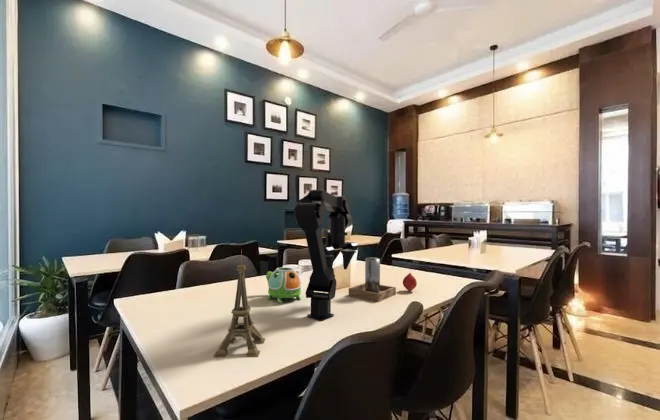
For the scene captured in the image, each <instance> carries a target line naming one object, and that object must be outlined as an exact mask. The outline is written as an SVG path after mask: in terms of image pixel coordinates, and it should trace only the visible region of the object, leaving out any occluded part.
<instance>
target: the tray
mask: <svg viewBox="0 0 660 420" xmlns="http://www.w3.org/2000/svg"><path fill="white" fill-rule="evenodd" d="M396 295H397V288H396V286H391V285H383V284H380V292H379V293H374V292H369V291H365V282H364V283H361V284H358V285H355V286H351V287H349V288H348V296H350V297H353V298H357V299H362V300H368V301H373V302H377V303H380V302H382V301H384V300H386V299H389V298H391V297H393V296H396Z"/></svg>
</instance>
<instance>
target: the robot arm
mask: <svg viewBox="0 0 660 420" xmlns="http://www.w3.org/2000/svg"><path fill="white" fill-rule="evenodd" d="M326 211H328V212H329V214H328V219H329V232H327V233H326V236H324V237H323V236H322V231H321V225H322V223H323V221H324V215H325V213H326ZM351 213H352V212H351V208H350V204H349V200H348V198H347V197H346V196H345V195H344V196H343V195H340V196H339V195H338V196H337V195H334V194H332V193H329V192H328V191H326V190H324V189H311V190H309V191H308V192H307V195H305V196H304V197H302V198H300V199H299V200H298V202H297V204H296V205H295V207H294V209H293V215H294V218H295V221H296V224H297V226H298V227H299V228H300V229H301V230H302V231H303V232H304V235H305V240H306V245H307V248H308V254H309V259H310V263H311V268H312V272H311V273H310V274H311V275H310V276H309V282H308V284H307V287H306V289H305V298H307V299H310V313H309V314H307V315H306V317H308V318H311V319H315V320H318V321H324V320H327V319H329V318H332V317H334V316H335V314H334V313H331V307H332V306H331V305H332V304H331V302H332V300H333V299H334V298H335V296H336V290H337V280H336V275H335V269H334V268H333V266H334V262H335V261H334V260H335V255H334V254H335V252H340V253H341V255H342V266H343V269H344V270H346V271H347V270H348V267H349V265H350V263H351V260H352V259H353V258H354V255H355V254H356V253H357V251H358V250H359V245H358V243H357V242H356V241H355V242H353V241H346V236H348V232H346V229H347V228H349V227H350V226H352V224H353V220H354V218H353V217H352V215H351Z"/></svg>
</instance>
